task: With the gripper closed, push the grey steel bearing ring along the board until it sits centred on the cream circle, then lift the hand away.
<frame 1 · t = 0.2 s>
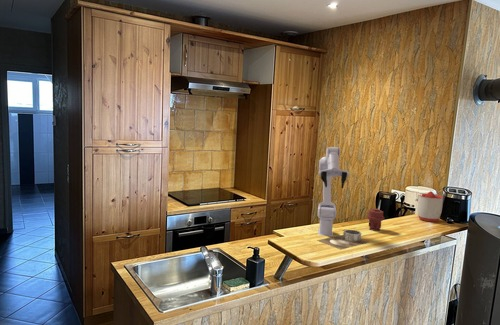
hand: (334, 186, 177), 32 cm above the table, tool tilted 50°, fingers open, 7 cm apart
seat board: (343, 242, 195), on the table
citrus juicer: (427, 220, 253), on the table
mechanical component: (374, 229, 223), on the table
steel bearing ring: (351, 239, 198), point 1 cm above the table, touching seat board
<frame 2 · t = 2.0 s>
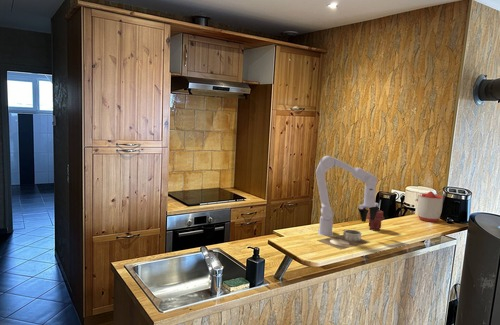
hand: (367, 220, 204), 10 cm above the table, tool pointing down, fingers open, 7 cm apart
nothing on the table moved.
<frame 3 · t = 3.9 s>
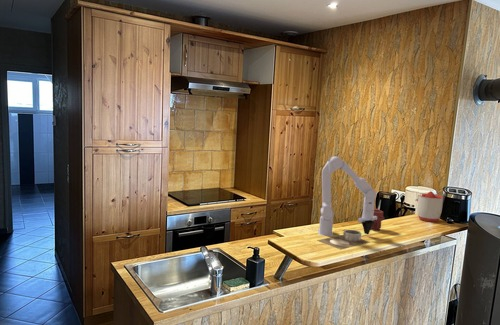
hand: (366, 233, 206), 2 cm above the table, tool pointing down, fingers closed
nothing on the table moved.
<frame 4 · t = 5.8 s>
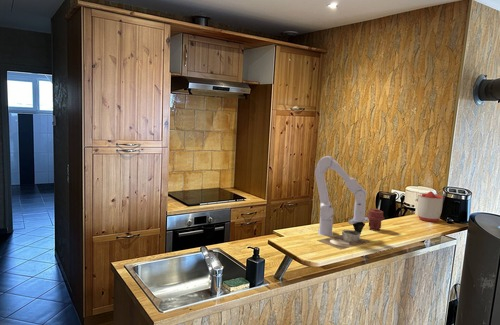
hand: (357, 235, 201), 2 cm above the table, tool pointing down, fingers closed
steel bearing ring: (350, 239, 198), point 1 cm above the table, touching gripper
everything else where it was.
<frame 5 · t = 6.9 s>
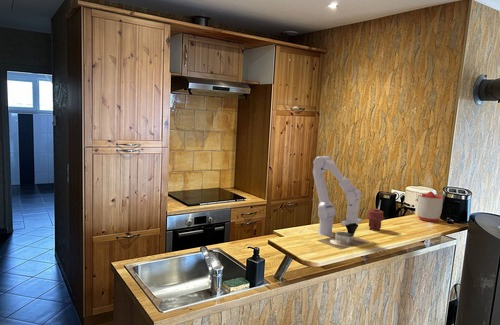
hand: (350, 237, 197), 2 cm above the table, tool pointing down, fingers closed
steel bearing ring: (343, 241, 194), point 1 cm above the table, touching gripper
everything else where it was.
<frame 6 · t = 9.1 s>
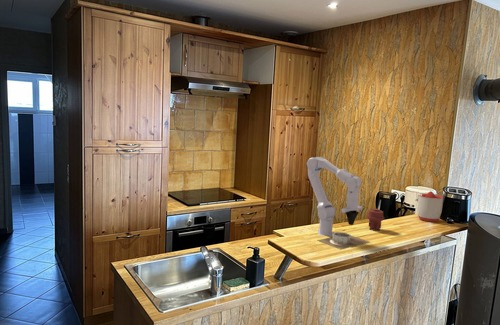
hand: (350, 224, 196), 9 cm above the table, tool pointing down, fingers closed
steel bearing ring: (341, 242, 193), point 1 cm above the table, touching seat board
everything else where it was.
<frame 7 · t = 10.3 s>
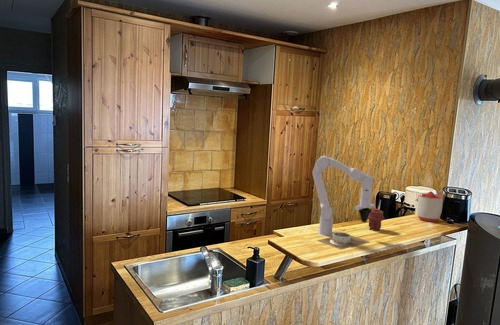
hand: (363, 221, 202), 9 cm above the table, tool pointing down, fingers closed
nothing on the table moved.
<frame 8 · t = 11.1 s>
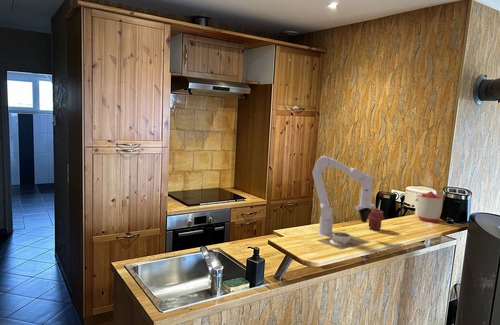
hand: (363, 221, 202), 9 cm above the table, tool pointing down, fingers closed
nothing on the table moved.
at the end: steel bearing ring 0.9 cm from the target spot on the seat board, point 0.6 cm above the seat board's base; steel bearing ring tilted 0°; steel bearing ring moved 9.1 cm from its start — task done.
